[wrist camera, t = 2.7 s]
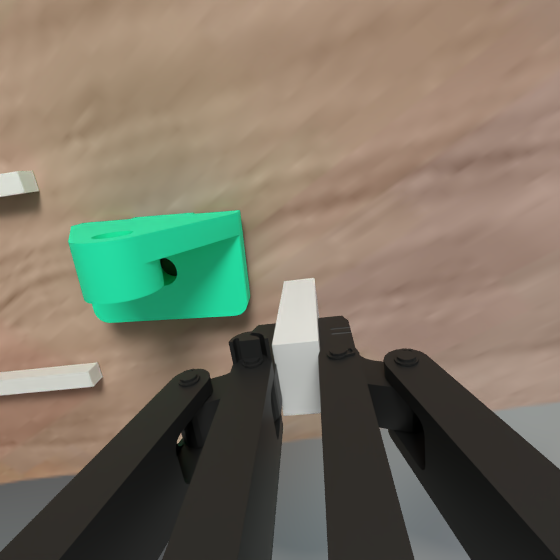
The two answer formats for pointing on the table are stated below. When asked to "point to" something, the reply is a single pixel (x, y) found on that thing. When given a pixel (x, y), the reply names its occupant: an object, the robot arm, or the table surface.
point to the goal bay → (51, 375)
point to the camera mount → (149, 274)
